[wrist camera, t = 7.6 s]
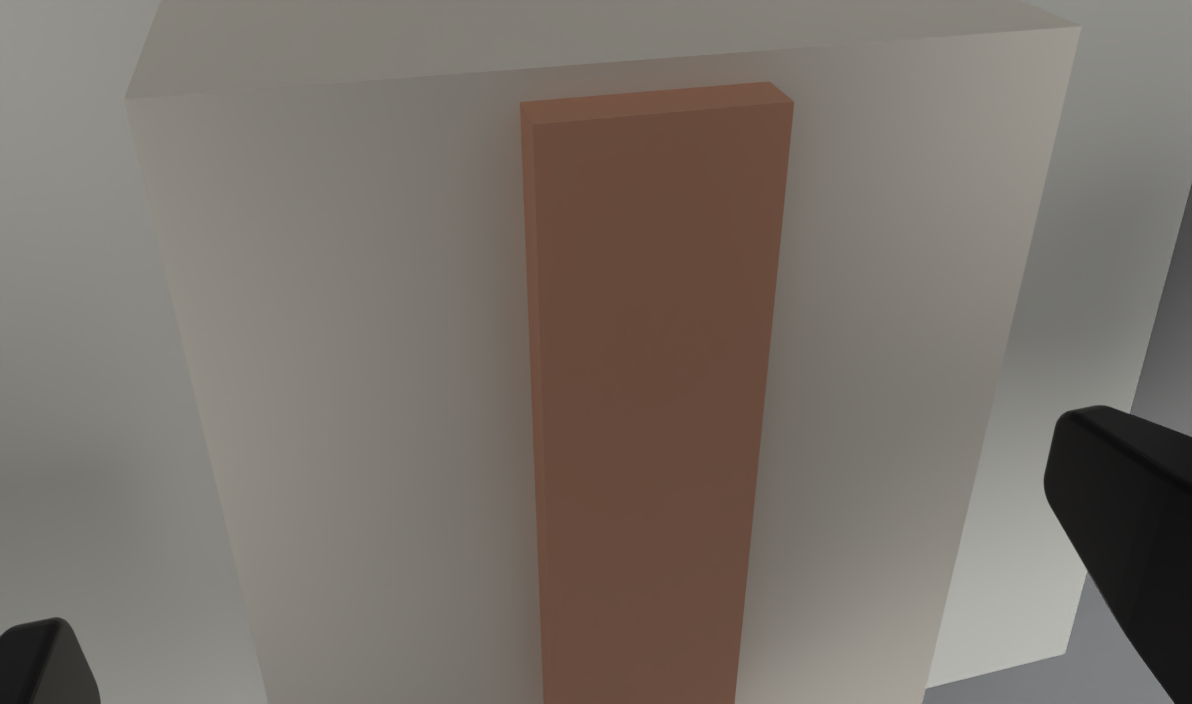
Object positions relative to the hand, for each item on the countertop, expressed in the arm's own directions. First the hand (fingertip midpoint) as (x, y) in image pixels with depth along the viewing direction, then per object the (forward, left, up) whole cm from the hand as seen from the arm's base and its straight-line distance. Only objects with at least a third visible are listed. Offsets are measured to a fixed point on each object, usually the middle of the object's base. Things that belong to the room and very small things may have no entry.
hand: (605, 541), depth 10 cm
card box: (0, 0, -3) cm, 3 cm away
